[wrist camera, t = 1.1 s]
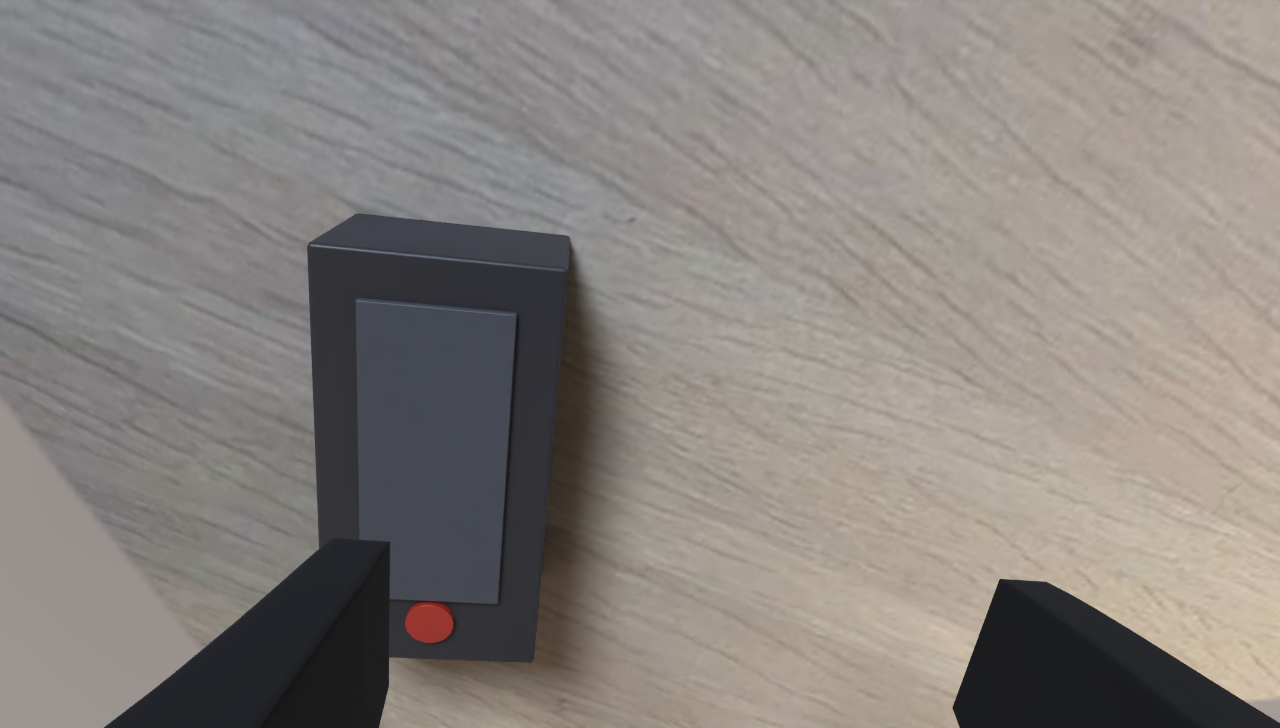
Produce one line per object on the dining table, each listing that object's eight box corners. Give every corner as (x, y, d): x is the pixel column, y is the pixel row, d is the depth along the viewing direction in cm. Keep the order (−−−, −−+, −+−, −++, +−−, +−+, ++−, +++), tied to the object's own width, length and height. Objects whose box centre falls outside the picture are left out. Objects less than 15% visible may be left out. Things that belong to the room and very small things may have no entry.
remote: (539, 578, 19) (533, 669, 16) (360, 569, 18) (319, 661, 16) (570, 234, 16) (568, 270, 13) (355, 212, 15) (302, 244, 12)
